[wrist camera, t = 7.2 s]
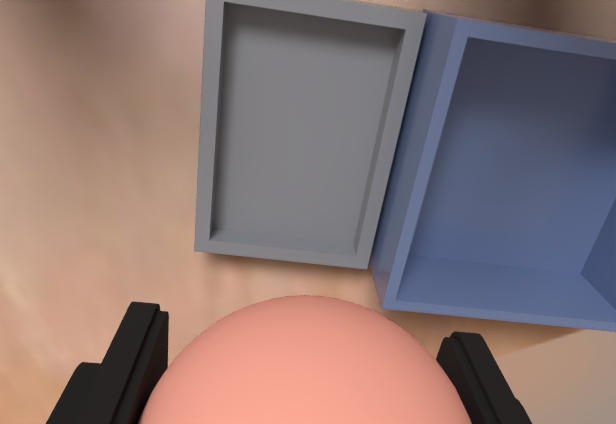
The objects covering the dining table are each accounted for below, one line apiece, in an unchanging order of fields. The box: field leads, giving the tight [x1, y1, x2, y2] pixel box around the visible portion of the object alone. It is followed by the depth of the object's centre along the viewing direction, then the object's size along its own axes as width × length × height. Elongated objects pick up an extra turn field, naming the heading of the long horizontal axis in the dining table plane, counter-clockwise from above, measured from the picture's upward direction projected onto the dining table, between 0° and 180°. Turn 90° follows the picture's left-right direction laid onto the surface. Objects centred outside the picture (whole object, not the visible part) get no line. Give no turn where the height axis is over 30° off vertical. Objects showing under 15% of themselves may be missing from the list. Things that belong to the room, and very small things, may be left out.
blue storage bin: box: [369, 10, 616, 332], centre depth 25 cm, size 14×14×6 cm
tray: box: [194, 0, 427, 269], centre depth 25 cm, size 10×14×2 cm
